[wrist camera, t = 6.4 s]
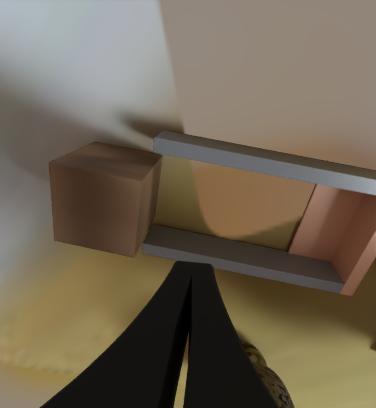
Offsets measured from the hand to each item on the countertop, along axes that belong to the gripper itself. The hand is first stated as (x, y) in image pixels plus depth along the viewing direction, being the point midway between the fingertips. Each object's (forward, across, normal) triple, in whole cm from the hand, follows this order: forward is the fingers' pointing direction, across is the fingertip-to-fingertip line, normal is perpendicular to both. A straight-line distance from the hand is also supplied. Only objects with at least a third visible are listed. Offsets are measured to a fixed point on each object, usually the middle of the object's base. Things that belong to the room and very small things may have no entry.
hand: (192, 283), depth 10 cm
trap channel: (+8, -3, 0) cm, 9 cm away
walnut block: (+9, +5, -1) cm, 10 cm away
